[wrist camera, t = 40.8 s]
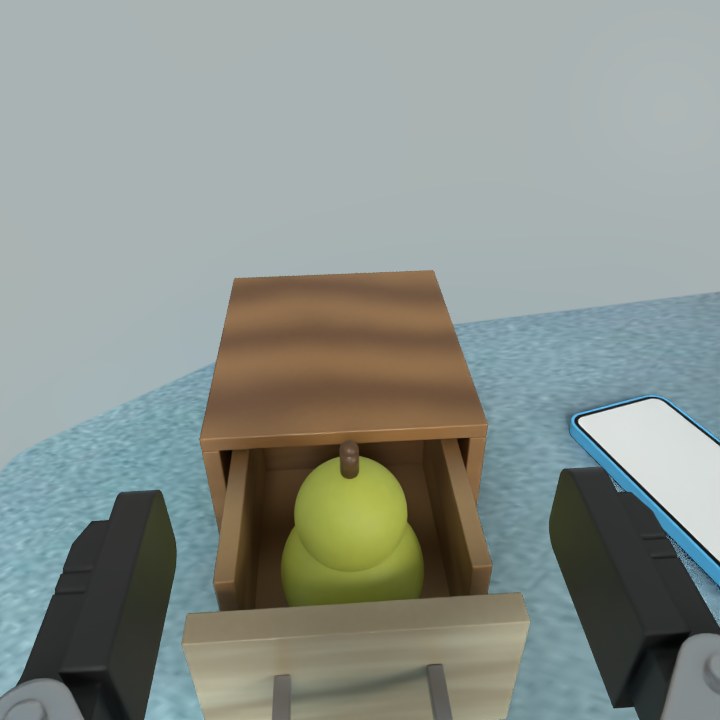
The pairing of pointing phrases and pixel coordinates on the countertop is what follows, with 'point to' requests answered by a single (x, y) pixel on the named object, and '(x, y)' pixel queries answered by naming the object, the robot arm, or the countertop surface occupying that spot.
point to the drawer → (355, 606)
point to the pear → (351, 537)
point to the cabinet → (338, 370)
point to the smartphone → (661, 468)
